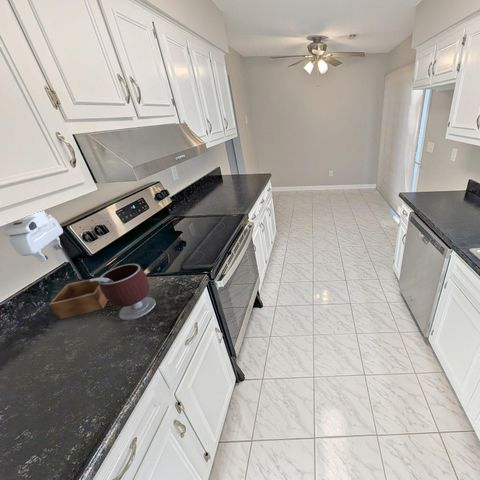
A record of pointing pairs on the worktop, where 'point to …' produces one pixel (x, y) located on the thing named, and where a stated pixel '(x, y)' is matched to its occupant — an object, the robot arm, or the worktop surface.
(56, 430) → the worktop surface
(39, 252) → the robot arm
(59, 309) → the crate
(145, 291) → the mate gourd
